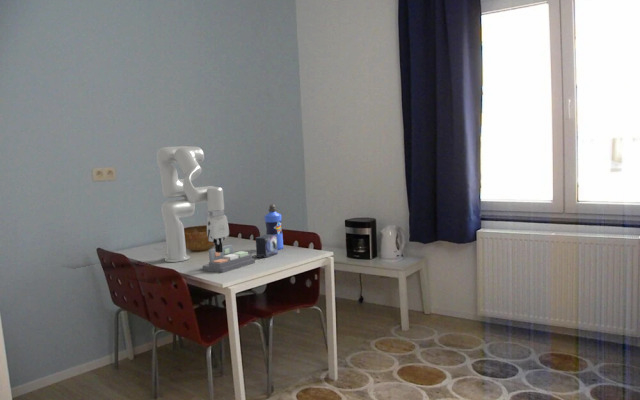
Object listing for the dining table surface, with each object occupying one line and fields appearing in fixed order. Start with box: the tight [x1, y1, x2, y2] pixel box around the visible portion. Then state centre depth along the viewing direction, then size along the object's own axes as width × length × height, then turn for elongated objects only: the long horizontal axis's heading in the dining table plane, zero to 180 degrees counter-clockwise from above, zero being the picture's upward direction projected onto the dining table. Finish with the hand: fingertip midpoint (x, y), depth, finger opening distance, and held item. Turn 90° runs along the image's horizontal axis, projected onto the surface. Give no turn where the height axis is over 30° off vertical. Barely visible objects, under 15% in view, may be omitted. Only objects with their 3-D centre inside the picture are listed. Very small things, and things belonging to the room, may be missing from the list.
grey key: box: [223, 254, 238, 260], centre depth 243 cm, size 5×5×2 cm
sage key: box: [233, 250, 249, 257], centre depth 248 cm, size 5×5×2 cm
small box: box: [255, 234, 279, 259], centre depth 263 cm, size 11×6×10 cm, turn 148°
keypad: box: [202, 244, 256, 274], centre depth 243 cm, size 14×21×9 cm, turn 143°
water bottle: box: [264, 203, 284, 251], centre depth 279 cm, size 9×9×25 cm
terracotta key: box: [213, 259, 228, 263], centre depth 238 cm, size 5×5×2 cm
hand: (219, 252), depth 237 cm, fingers closed
